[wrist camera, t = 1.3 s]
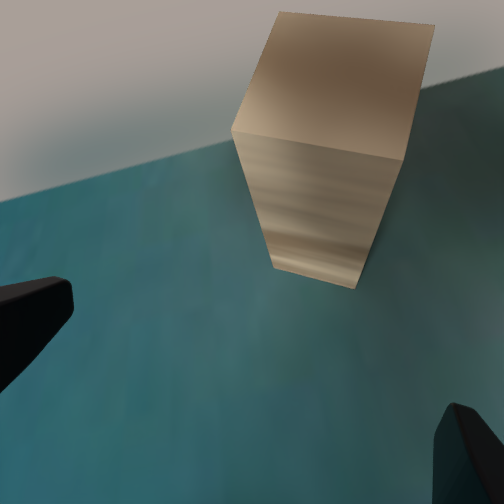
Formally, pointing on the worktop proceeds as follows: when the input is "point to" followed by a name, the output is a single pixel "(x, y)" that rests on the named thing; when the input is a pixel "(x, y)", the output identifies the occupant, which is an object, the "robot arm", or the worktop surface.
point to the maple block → (328, 136)
